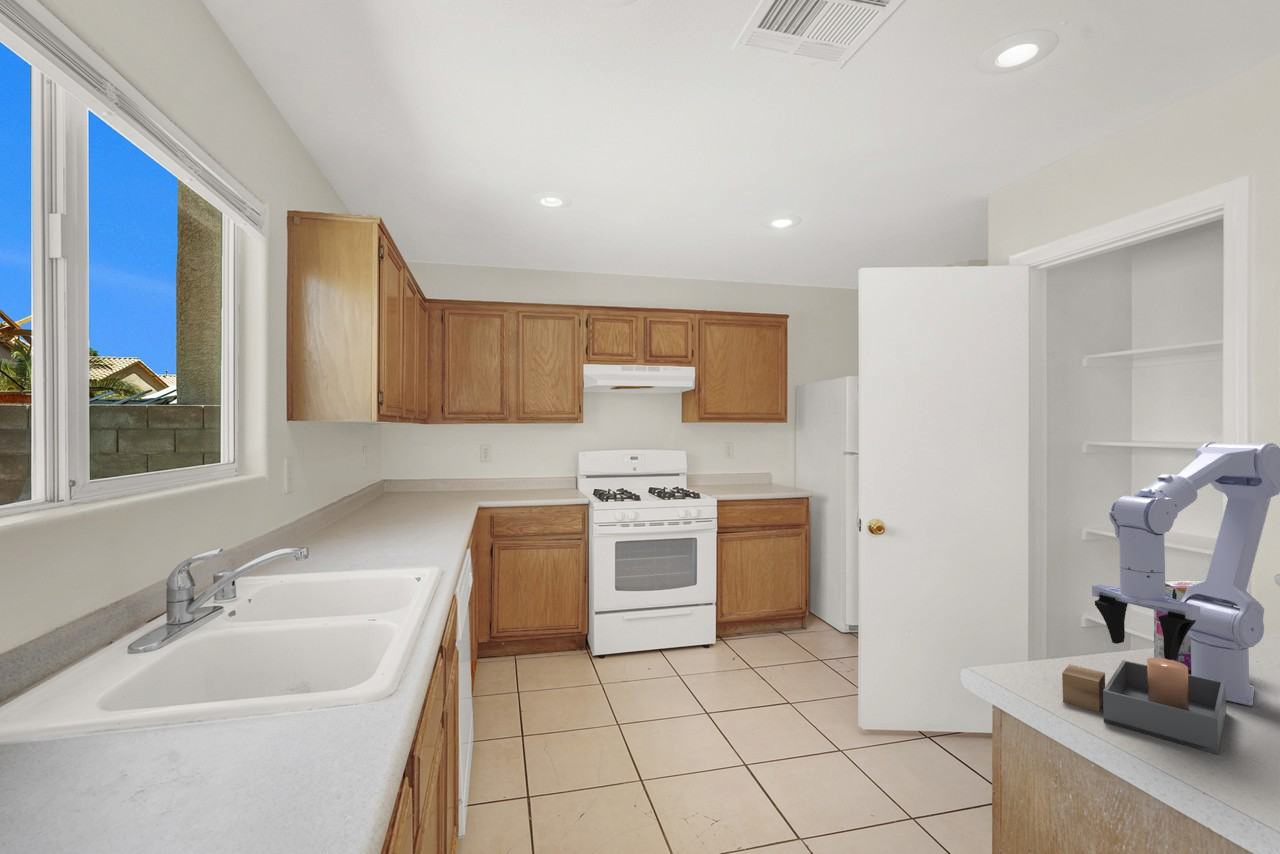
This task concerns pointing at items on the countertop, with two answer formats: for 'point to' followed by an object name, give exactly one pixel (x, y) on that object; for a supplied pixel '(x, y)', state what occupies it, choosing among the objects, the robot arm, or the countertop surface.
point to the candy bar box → (1175, 592)
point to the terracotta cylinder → (1168, 683)
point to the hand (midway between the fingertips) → (1143, 650)
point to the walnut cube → (1083, 687)
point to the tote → (1166, 709)
